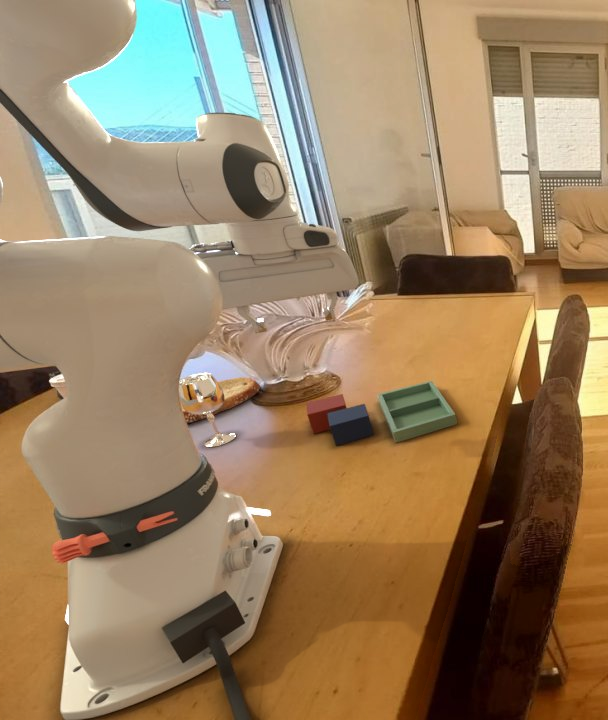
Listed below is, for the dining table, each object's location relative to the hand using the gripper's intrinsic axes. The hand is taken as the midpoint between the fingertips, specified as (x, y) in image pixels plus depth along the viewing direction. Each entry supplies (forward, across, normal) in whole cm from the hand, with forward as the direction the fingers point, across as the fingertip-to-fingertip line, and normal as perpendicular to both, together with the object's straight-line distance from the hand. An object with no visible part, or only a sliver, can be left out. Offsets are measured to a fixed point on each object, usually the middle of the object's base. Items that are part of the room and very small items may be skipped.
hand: (297, 325), depth 76 cm
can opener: (+22, -44, +52) cm, 72 cm away
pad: (+21, +3, -2) cm, 21 cm away
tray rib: (+21, +14, -1) cm, 25 cm away
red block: (+21, 0, +5) cm, 22 cm away
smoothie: (+22, -38, +35) cm, 55 cm away
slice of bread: (+22, -22, +28) cm, 42 cm away
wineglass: (+21, -17, +10) cm, 29 cm away
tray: (+21, +14, -1) cm, 25 cm away
